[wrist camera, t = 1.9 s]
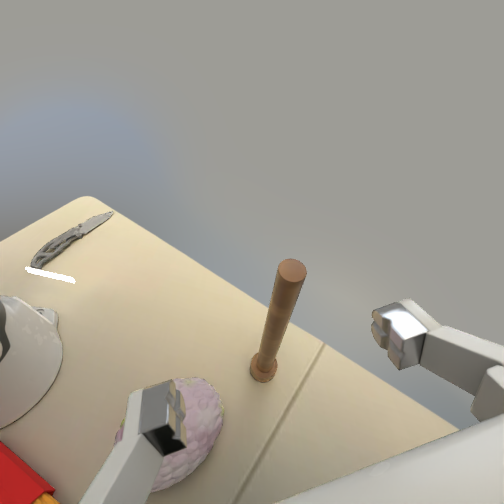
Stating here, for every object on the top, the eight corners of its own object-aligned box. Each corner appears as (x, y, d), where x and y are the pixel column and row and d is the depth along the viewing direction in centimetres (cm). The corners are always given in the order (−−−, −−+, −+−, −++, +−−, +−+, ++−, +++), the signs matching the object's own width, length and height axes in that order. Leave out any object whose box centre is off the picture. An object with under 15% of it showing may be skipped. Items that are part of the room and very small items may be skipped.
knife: (118, 213, 57) (107, 204, 57) (33, 269, 46) (20, 257, 46) (118, 217, 58) (107, 208, 58) (36, 273, 47) (23, 262, 48)
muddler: (247, 377, 39) (263, 282, 20) (254, 352, 41) (275, 246, 23) (272, 385, 38) (312, 296, 20) (278, 360, 40) (319, 258, 22)
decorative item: (247, 408, 32) (179, 418, 25) (202, 496, 32) (120, 532, 24) (204, 361, 38) (139, 358, 31) (166, 435, 38) (92, 449, 31)
